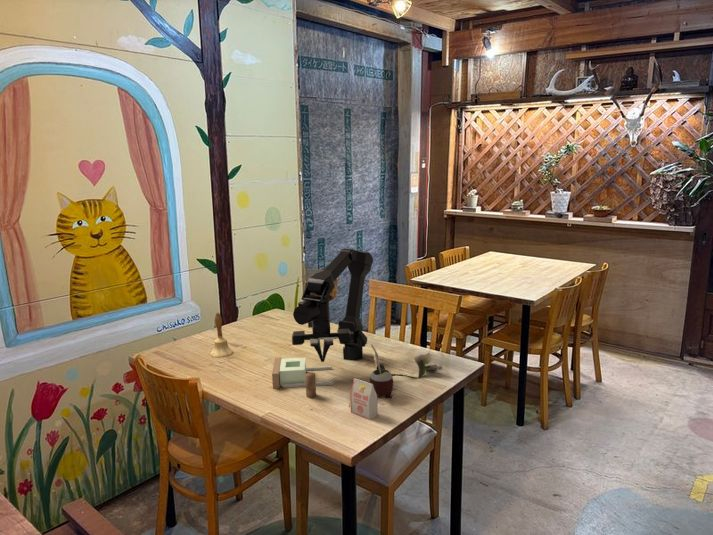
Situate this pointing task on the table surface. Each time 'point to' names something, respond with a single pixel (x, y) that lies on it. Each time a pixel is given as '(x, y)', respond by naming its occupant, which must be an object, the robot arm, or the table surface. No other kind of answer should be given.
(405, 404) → the table surface
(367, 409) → the tea bag
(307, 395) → the walnut peg
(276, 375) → the guide board
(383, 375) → the mate gourd
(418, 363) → the artificial flower
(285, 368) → the sliding block
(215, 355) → the hand bell
